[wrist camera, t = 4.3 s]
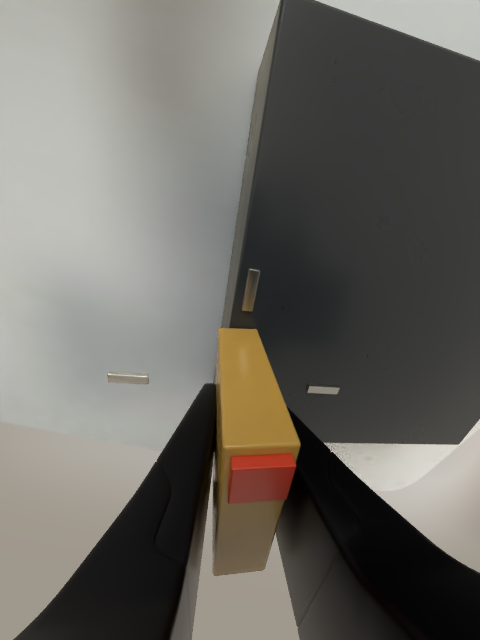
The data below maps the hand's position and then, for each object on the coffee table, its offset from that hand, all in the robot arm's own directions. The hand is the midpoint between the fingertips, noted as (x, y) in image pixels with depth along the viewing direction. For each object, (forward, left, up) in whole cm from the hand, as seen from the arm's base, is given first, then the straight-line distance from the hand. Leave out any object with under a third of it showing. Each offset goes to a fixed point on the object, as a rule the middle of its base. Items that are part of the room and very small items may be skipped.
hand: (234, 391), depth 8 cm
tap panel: (+3, -4, -3) cm, 6 cm away
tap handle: (0, 0, 0) cm, 0 cm away
